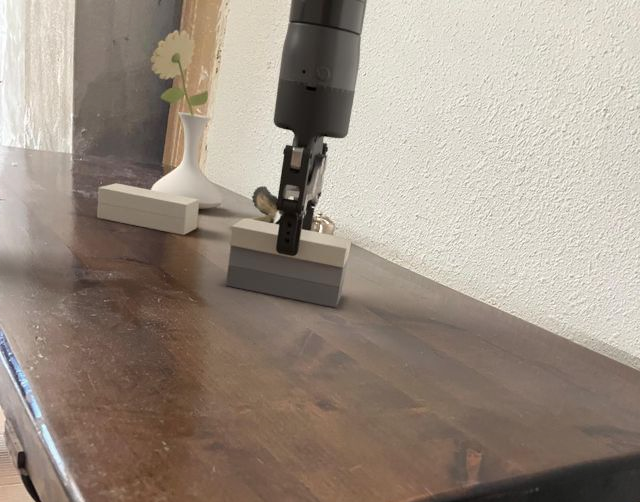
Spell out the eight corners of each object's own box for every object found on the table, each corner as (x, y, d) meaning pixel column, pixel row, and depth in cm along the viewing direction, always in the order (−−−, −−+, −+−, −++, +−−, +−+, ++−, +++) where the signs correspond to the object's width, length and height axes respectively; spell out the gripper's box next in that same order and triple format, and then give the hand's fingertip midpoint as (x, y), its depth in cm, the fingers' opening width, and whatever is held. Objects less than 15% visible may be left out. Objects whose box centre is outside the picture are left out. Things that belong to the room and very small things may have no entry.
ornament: (299, 229, 119) (303, 206, 117) (339, 239, 117) (344, 215, 115) (280, 234, 111) (284, 210, 110) (323, 245, 110) (327, 220, 108)
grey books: (225, 285, 79) (230, 244, 77) (236, 276, 84) (241, 236, 82) (336, 307, 79) (343, 266, 77) (340, 297, 83) (347, 258, 81)
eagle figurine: (305, 230, 112) (253, 206, 113) (309, 193, 106) (254, 168, 107) (280, 262, 108) (227, 236, 110) (282, 225, 102) (226, 199, 103)
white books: (96, 217, 100) (98, 187, 98) (114, 212, 105) (116, 183, 104) (183, 235, 99) (186, 204, 98) (196, 228, 105) (199, 199, 103)
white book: (229, 245, 77) (231, 225, 76) (242, 236, 82) (244, 217, 82) (343, 267, 76) (346, 248, 75) (348, 257, 82) (351, 238, 81)
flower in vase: (201, 201, 128) (217, 39, 117) (234, 215, 120) (254, 43, 109) (128, 195, 120) (139, 22, 110) (158, 211, 112) (173, 25, 102)
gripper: (291, 77, 79) (271, 230, 86) (266, 71, 66) (244, 252, 73) (360, 89, 79) (334, 242, 85) (348, 85, 66) (319, 266, 72)
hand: (293, 247), depth 79 cm, fingers open, 8 cm apart
